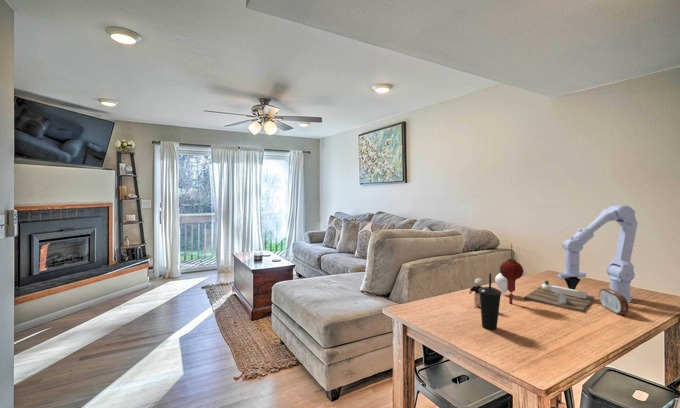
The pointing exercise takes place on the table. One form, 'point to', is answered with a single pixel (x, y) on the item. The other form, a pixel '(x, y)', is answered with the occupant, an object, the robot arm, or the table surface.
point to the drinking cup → (489, 306)
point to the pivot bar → (565, 291)
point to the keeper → (560, 296)
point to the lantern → (511, 273)
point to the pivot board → (551, 299)
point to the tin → (614, 301)
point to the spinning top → (501, 282)
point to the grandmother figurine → (477, 292)
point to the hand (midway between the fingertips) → (571, 292)
